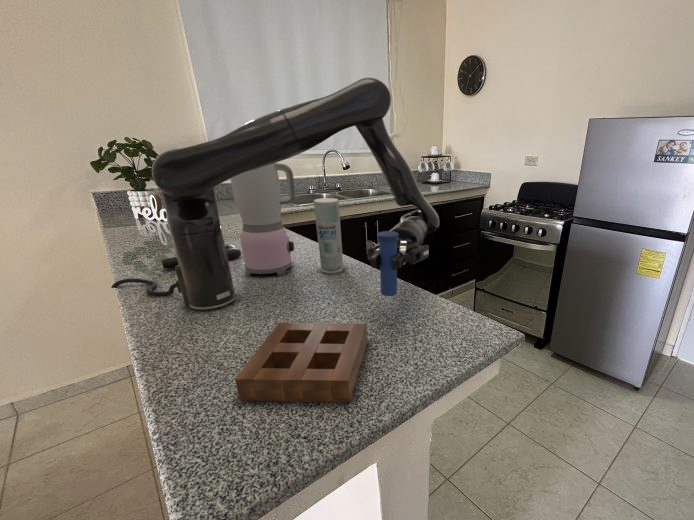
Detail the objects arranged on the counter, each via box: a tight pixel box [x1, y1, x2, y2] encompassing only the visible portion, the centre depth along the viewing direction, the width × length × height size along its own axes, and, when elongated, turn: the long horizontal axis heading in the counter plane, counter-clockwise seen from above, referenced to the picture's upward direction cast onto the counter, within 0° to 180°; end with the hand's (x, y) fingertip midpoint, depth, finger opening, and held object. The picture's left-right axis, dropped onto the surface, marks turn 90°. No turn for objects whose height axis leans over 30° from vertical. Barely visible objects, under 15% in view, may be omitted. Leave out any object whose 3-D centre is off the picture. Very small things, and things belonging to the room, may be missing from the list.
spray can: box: [313, 197, 344, 274], centre depth 97 cm, size 6×6×20 cm
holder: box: [234, 322, 368, 403], centre depth 58 cm, size 16×16×4 cm
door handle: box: [160, 244, 242, 270], centre depth 107 cm, size 3×20×16 cm
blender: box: [229, 162, 296, 276], centre depth 94 cm, size 16×12×32 cm
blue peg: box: [377, 230, 398, 297], centre depth 66 cm, size 4×4×12 cm
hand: (384, 264), depth 63 cm, fingers closed on blue peg, 3 cm apart
